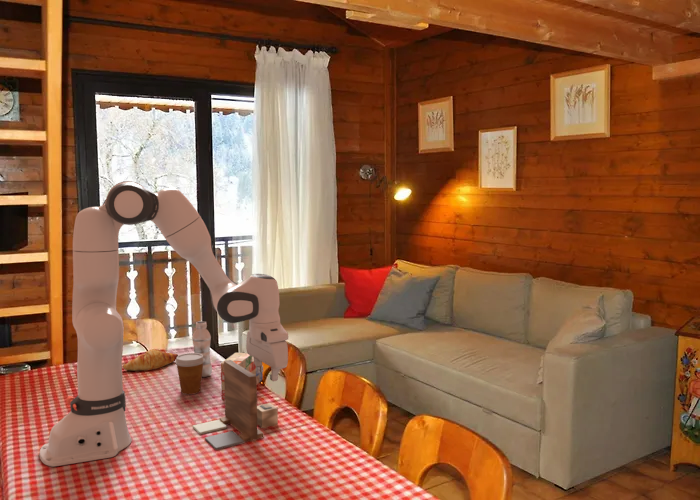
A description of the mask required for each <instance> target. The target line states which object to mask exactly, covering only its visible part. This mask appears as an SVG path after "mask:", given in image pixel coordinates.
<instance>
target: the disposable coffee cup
mask: <svg viewBox="0 0 700 500" xmlns="http://www.w3.org/2000/svg"><path fill="white" fill-rule="evenodd" d="M174 362H175V364H176V368H177V373H178V380H179V381H178V382H179V386H180V393H182V394H184V395H194V394H195V395H196V394H198V393H200V392H201V388H202V378H203V377H202V369H203V362H204V358H203V355H202V354H199V353H194V352H189V353H188V352H187V353H183V354H178V356H177V358H176V360H175V361H174Z"/></svg>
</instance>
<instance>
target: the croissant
mask: <svg viewBox="0 0 700 500" xmlns="http://www.w3.org/2000/svg"><path fill="white" fill-rule="evenodd" d="M177 356H179V354H178V353H172V352H166V351H161V350H159V349H156V348H152V349H149V350H147V351H145V353H142V354H140V355H138V356H137V357H134V358H133V359H130V360H129V361H128V362H127V363H124V364H122V370H123V369H124V371H152V370H156V369H160V368H162V367H165V366H167V365H170V364H172V363H173V362H175V361H176V358H177Z"/></svg>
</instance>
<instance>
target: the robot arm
mask: <svg viewBox="0 0 700 500" xmlns="http://www.w3.org/2000/svg"><path fill="white" fill-rule="evenodd" d="M105 198H106V199H105V200H104V201H103V204H101V205H100V206H89V207H86V208H83V209H81V210H80V211H79V212H78V213H77V214H76V216H75V220H74V226H73V234H72V270H73V271H72V272H73V273H72V274H73V277H72V278H73V279H72V280H73V283H72V286H73V287H72V301H71V302H72V304H71V305H72V306H71V307H72V308H71V311H72V312H71V313H72V314H71V315H72V316H71V317H72V318H71V319H72V326H73V328H74V330H75V333H76V337H77V362H76V363H77V364H76V377H77V378H76V379H77V390H78V391H77V392H78V393H77V396H75V397H74V396H73V395H68V396H67V397H66V398H65V401H66V403H67V405H69V406H70V411H69V412H68V413H67V414H66V415H65V416H64V417H63V418H62V419H60V420H59V421H58V422H57V423H55V424H54V425H53V426H52V428H51V429H50V432H49V435H48V436H49V437H48V443H45V444H43V445H42V446H41V447H40V449H39V453H38V454H39V455H38V456H39V459H40V461H41V462H42V463H43V464H44V465H46V466H48V467H52V468H53V467H59V466H66V465H72V464H76V463H78V464H79V463H83V462H84V463H85V462H91V461H97V460H102V459H107V458H114V457H115V456H117V454H119V452H121V451H122V450H124V449H126V448H127V447H129V446H130V444H131V443H132V437H131V435H130V431H129V428H128V423H127V418H126V407H127V406H126V404H127V402H126V401H127V400H126V393H125V390H124V387H123V386H124V385H123V362H122V361H123V353H124V352H123V351H124V349H123V348H124V331H125V330H124V328H125V327H124V321H123V317H122V316H121V315H120V314H121V313H119V312H118V310H117V297H118V295H117V294H118V286H119V281H120V265H119V263H120V262H119V261H120V260H119V258H120V257H119V255H120V254H119V252H120V251H119V233H120V230H121V229H122V227H123V226H124V225H128V226H133V225H138V224H141V223H145V222H146V223H147V222H152V223H153V224H154V225H156V227H157V228H158V230H159V231H160V233H161V234H162V236H163V237H164V239H165V240H166V242H167V244H169V246H170V247H171V248H172V250H173V251H175V253H176V254H178V256H179V257H181V258H182V259H184V260H186V261H188V262H189V263H190V264H191V265H192V266H193V267H194V268H195V269H196V271H197V272H198V274H199V276H201V279H202V280H203V281H204V283H205V284H206V286H207V288H208V289H209V294H210V300H211V301H210V302H211V305H212V307H213V309H214V310H215V311H216V312H217V314H218V316H219V317H220V319H222V320H223V321H224V322H226V323H230V324H236V323H237V324H238V323H242V322H244V321H248V325H249V326H248V331H247V333H246V339H245V340H246V345H245V346H246V353H248V354H249V355H251V356H252V357H253V360H254V363H255V366H256V371H257V372H258V373H260V372H262V373H263V372H264V366H263V363H264V364H265V365H267V366H269V367H270V370H271V373H270V374H269V380H270V381H272V382H278V380H279V373H280V371H281V369H286V368H287V366H288V363H289V362H288V361H289V349H288V342H287V341H288V340H289V333H288V332H287V330H286V329H285V328H284V326H283V325H282V323H281V316H280V312H279V308H280V305H281V304H280V290H279V284H278V282H277V279H275V278H274V276H271V275H268V274H264V273H252V274H250V276H248V277H247V278H246V279H245V280H243V281H241V282H239V283H238V282H235V281H234V280H233V279H230V277H229V276H228V275H227V273H226V272H225V270H224V269H223V267H222V266H221V264H220V263H219V261H218V259H217V258H216V256H215V255H214V252H213V249H212V238H211V235H210V232H209V230H208V228H207V225H206V223H205V222H204V220H203V219H202V216H201V215H200V214H199V212H198V210H197V209H196V208H195V206H194V205H193V203H191V201H190V200H189V199H188V198H187V197H186V196H185V195H184V193H182V191H180V190H179V189H177V188H175V187H167V188H163V189H160V190H159V191H156V192H152V191H150V190H149V189H146V188H145V187H144V186H143V185H142V184H140V183H138V182H135V181H130V180H128V181H127V180H126V181H121V182H119V183H116V184H115V185H113V186H112V187H111V188H110V190H109V191H108V193H107V196H106V197H105Z"/></svg>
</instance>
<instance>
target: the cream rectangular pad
mask: <svg viewBox="0 0 700 500" xmlns="http://www.w3.org/2000/svg"><path fill="white" fill-rule="evenodd" d="M192 428H193V430H195V431H196V432H197V433H198V434H199V435H205V434H210V433H211V432H212V433H213V432H217V431H220V430H225V429H227V428H228V426H227V425H225V424H224V423H223V422H221V421H220V419H214V420H211V421H210V420H209V421H205V422H202V423H198V424H197V423H196V424H194V425H193V424H192Z"/></svg>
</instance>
